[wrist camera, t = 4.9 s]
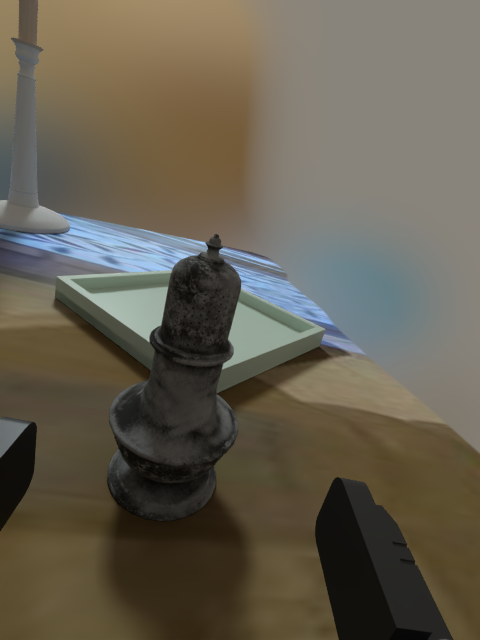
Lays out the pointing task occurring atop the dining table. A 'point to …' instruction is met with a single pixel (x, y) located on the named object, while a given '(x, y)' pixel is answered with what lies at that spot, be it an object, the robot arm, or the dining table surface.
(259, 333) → the tray
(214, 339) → the dark grey chess piece
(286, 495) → the dining table surface
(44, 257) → the dining table surface
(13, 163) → the candlestick
